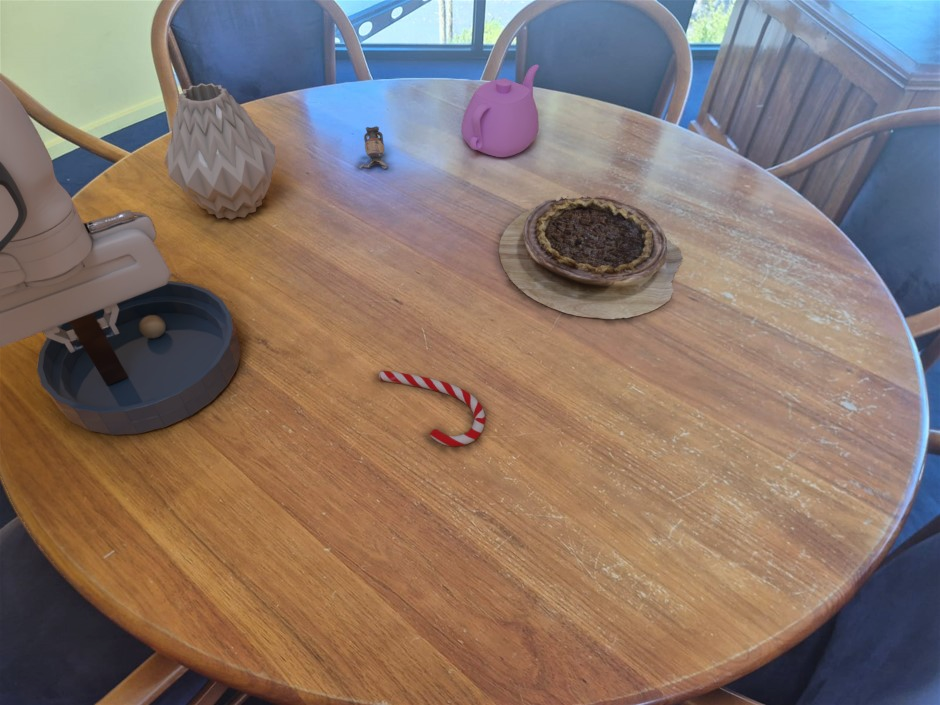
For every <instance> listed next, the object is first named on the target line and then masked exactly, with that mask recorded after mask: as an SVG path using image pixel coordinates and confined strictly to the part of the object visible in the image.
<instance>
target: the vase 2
mask: <svg viewBox="0 0 940 705" xmlns="http://www.w3.org/2000/svg"><path fill="white" fill-rule="evenodd" d="M365 131H366V133H365V134H364V136H363V139H364V150H365V152H366V155H367V157H369V158H370V159H371V160H370V163H369V164H366V163H362V164H361V165H358V167H359V169H361V168H366V169H370V168H371V167H372V166H374V165H380V166H381V168H383V169H384V170H386V169H388V167H389V165H390V164H389V162H385V161H383V160H382V158H383V156H384V154H385V143H384V135H383V133H382V132H381V131H380V127H379V126H372V127H369V126H366V127H365ZM386 131H387V130H385V132H386Z"/></svg>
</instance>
